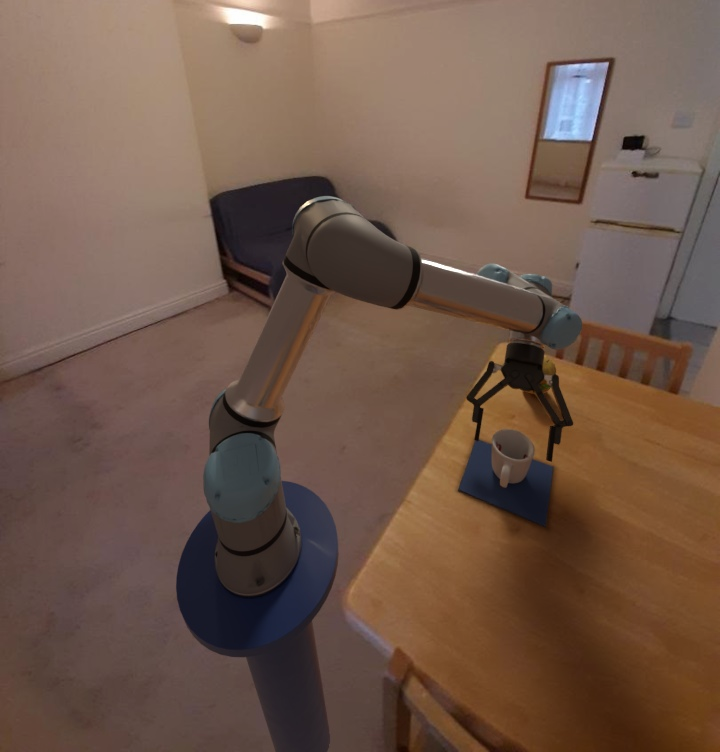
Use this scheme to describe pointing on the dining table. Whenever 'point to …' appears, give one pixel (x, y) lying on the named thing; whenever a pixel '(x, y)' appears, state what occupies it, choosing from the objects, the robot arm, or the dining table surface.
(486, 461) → the napkin
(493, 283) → the robot arm
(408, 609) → the dining table surface
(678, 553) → the dining table surface
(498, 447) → the cup
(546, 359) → the hamburger
